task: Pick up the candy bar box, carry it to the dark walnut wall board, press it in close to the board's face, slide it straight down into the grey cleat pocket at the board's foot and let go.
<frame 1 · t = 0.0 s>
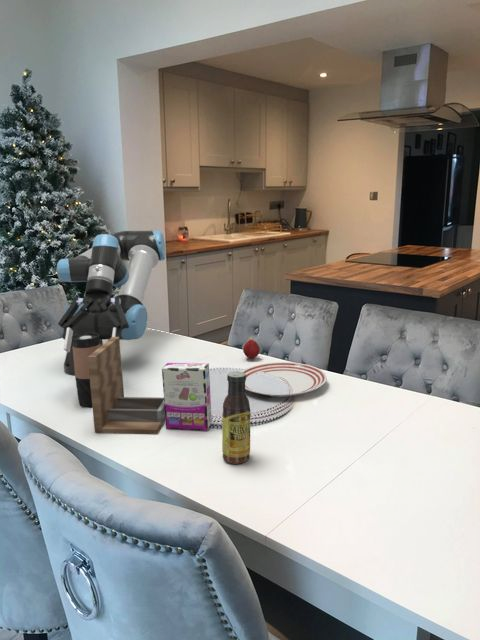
hand: (89, 350, 149), 15 cm above the table, tool tilted 35°, fingers open, 13 cm apart
dinner plate: (281, 386, 161), on the table
travel mug: (92, 403, 151), on the table
candy bar box: (189, 426, 135), on the table
wall board: (132, 418, 140), on the table
sauce bottle: (237, 459, 118), on the table
onion: (251, 360, 187), on the table
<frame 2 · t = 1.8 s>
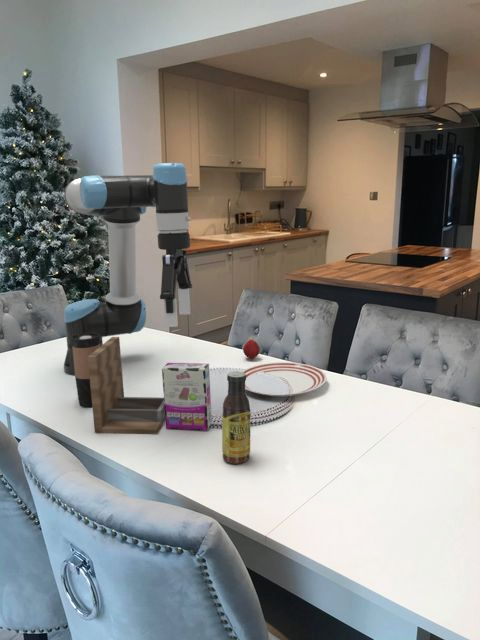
hand: (178, 320, 128), 28 cm above the table, tool pointing down, fingers open, 13 cm apart
nothing on the table moved.
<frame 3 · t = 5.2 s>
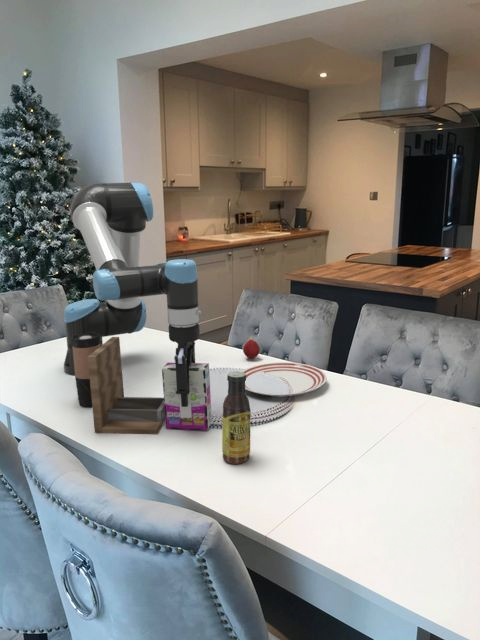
hand: (188, 412, 134), 4 cm above the table, tool pointing down, fingers closed on candy bar box, 5 cm apart
candy bar box: (189, 426, 135), on the table, touching gripper
everything else where it was.
when the fingers open (6 cm above the table, at t = 12.2 s): candy bar box drops 1 cm, point 1 cm above the table.
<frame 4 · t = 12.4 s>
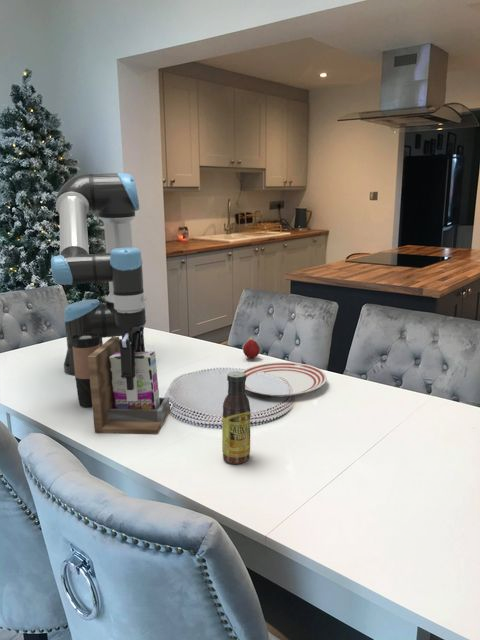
hand: (136, 395, 138), 7 cm above the table, tool pointing down, fingers open, 6 cm apart
candy bar box: (138, 413, 140), point 1 cm above the table, touching gripper
everything else where it was.
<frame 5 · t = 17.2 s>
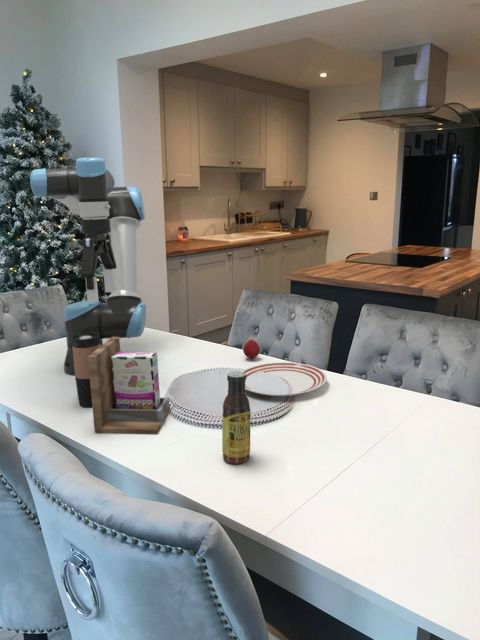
hand: (102, 296, 145), 31 cm above the table, tool pointing down, fingers open, 13 cm apart
candy bar box: (138, 413, 141), point 1 cm above the table, touching wall board
everything else where it was.
at the end: candy bar box 1.0 cm from the target spot on the wall board, point 1.0 cm above the wall board's base; candy bar box tilted 0°; the gripper is holding nothing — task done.
